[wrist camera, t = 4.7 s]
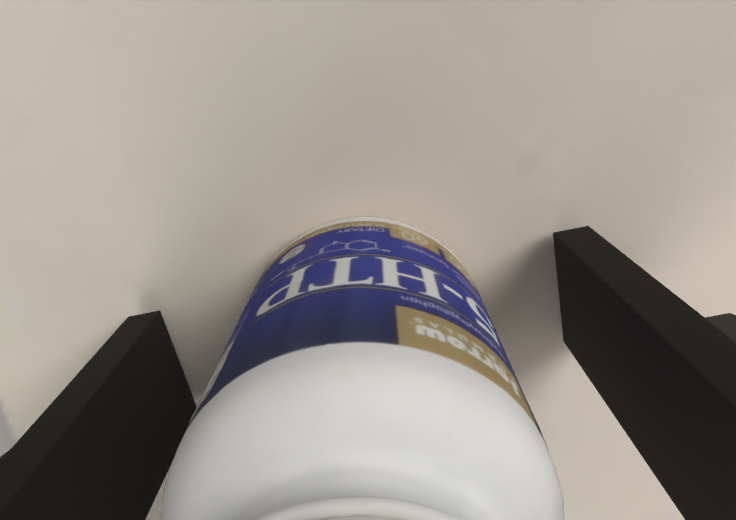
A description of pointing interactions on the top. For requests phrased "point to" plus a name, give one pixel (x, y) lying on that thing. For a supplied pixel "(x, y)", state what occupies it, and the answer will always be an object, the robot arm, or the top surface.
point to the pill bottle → (363, 395)
